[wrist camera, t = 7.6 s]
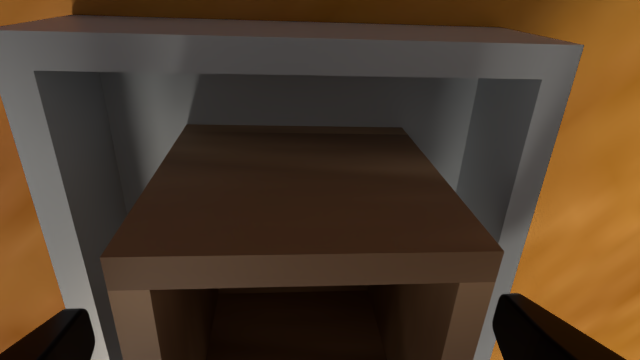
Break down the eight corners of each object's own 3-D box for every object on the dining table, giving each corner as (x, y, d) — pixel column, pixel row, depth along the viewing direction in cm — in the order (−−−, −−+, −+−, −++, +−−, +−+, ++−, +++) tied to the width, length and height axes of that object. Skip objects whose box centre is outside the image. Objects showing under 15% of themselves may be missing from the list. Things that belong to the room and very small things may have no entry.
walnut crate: (379, 291, 14) (439, 478, 9) (203, 296, 14) (154, 498, 8) (401, 127, 12) (504, 251, 6) (186, 124, 11) (99, 257, 6)
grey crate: (436, 330, 16) (473, 413, 13) (140, 342, 15) (104, 436, 12) (501, 27, 11) (584, 45, 8) (71, 14, 10) (-20, 29, 7)
